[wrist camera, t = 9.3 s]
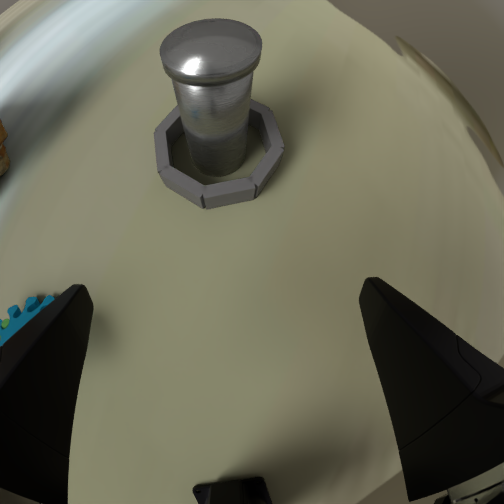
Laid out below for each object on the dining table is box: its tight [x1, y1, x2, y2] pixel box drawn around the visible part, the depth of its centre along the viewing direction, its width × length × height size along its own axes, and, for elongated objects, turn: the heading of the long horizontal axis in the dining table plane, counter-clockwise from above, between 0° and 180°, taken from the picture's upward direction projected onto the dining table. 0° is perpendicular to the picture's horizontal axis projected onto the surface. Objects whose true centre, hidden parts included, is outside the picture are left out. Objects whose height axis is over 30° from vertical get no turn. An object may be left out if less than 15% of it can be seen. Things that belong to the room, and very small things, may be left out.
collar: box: [154, 99, 285, 209], centre depth 23 cm, size 10×10×2 cm
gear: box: [0, 295, 54, 346], centre depth 17 cm, size 11×6×10 cm
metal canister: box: [160, 19, 262, 177], centre depth 18 cm, size 5×5×12 cm
